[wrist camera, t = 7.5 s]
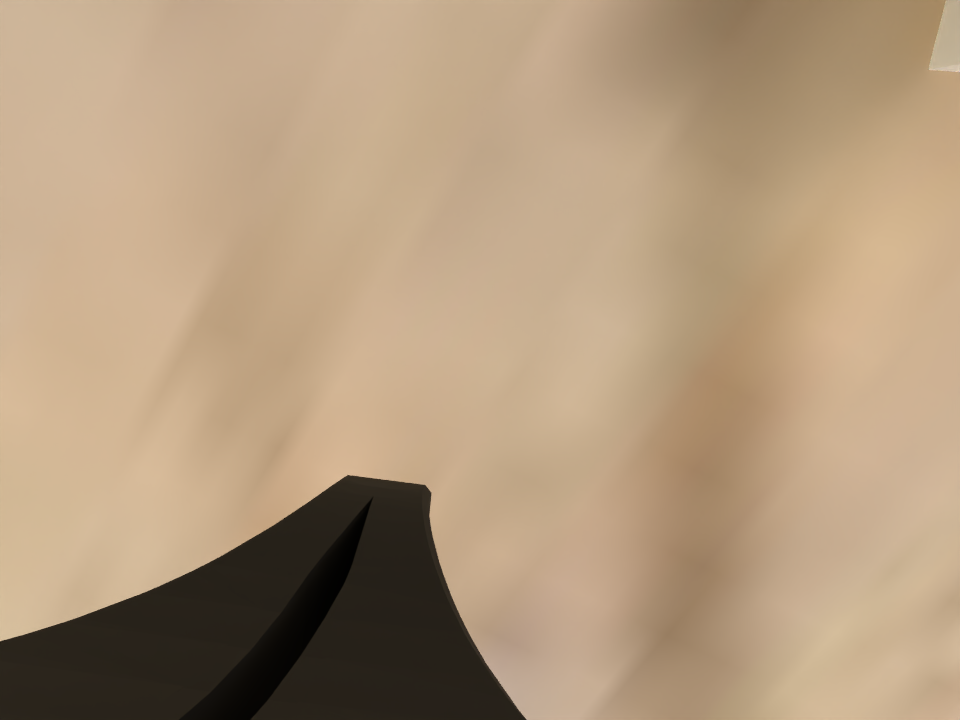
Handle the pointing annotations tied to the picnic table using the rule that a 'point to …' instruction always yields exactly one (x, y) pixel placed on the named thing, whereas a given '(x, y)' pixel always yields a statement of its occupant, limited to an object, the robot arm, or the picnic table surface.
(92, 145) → the picnic table surface
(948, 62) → the white marked cube
